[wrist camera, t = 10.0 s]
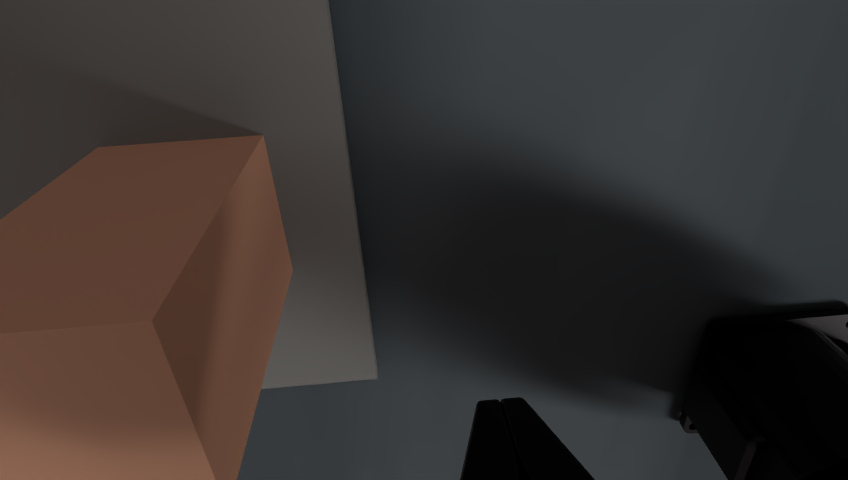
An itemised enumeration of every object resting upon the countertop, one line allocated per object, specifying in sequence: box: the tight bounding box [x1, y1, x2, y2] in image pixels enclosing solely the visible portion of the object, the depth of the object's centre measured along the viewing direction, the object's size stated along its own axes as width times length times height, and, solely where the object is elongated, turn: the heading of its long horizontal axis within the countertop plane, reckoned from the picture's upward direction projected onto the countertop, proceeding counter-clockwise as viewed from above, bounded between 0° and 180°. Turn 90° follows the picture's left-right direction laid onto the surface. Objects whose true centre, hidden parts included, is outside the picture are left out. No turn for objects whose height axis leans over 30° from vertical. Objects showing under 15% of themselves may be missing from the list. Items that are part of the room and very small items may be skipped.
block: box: [0, 135, 293, 480], centre depth 13 cm, size 5×5×9 cm
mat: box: [0, 0, 377, 389], centre depth 17 cm, size 18×16×1 cm
